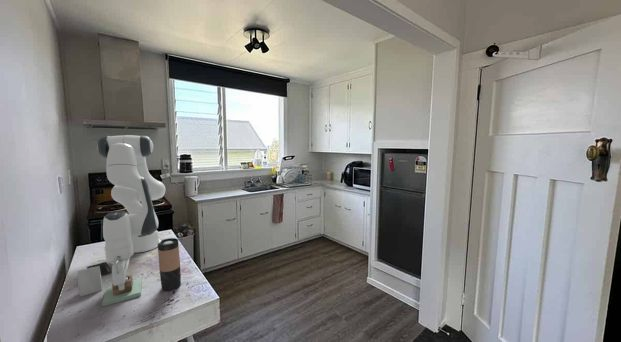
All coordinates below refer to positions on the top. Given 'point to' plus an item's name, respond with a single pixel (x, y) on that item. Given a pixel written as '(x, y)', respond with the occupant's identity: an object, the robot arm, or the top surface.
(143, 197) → the robot arm
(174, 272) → the travel mug
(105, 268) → the phone
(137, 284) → the base
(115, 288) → the open wooden frame
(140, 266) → the top surface
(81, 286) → the white boxy piece
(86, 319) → the top surface
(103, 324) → the top surface
